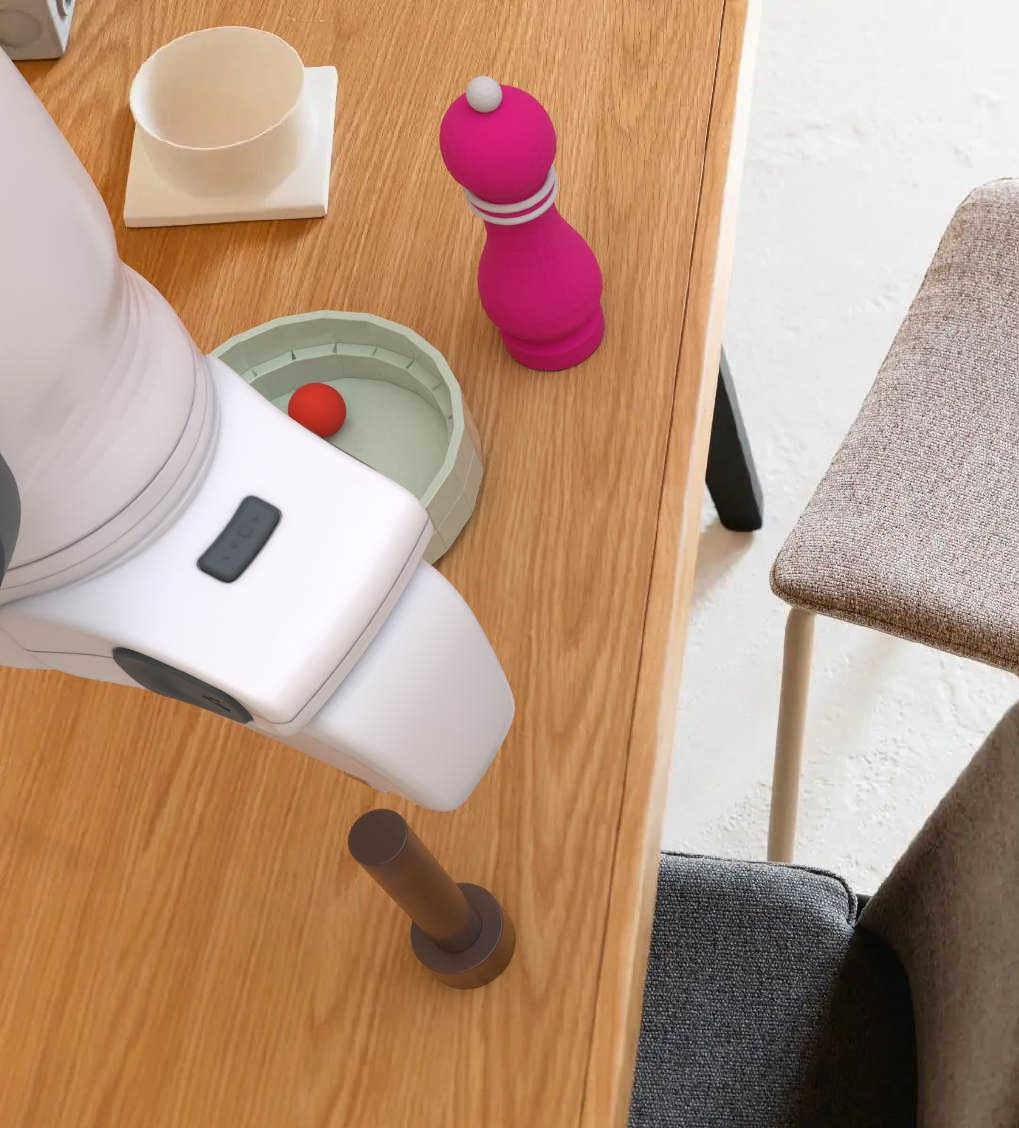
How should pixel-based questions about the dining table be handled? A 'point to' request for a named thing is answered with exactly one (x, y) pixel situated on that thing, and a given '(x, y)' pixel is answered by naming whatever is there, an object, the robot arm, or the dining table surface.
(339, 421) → the ball
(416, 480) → the bowl
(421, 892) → the muddler
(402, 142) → the dining table surface
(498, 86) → the pepper mill
